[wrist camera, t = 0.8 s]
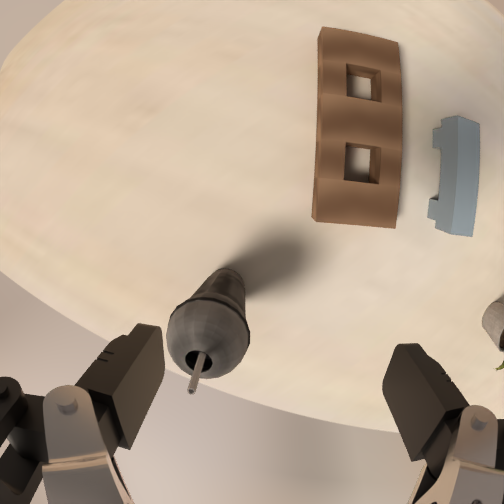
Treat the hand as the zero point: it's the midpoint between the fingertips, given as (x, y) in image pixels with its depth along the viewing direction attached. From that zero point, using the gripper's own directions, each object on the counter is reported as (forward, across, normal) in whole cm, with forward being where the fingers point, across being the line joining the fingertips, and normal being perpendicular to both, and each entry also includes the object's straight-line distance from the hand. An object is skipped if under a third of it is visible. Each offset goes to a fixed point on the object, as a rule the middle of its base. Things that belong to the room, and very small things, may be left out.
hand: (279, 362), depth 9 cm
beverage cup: (+25, +5, +8) cm, 27 cm away
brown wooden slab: (+25, -9, -13) cm, 29 cm away
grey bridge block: (+25, -21, -9) cm, 34 cm away
